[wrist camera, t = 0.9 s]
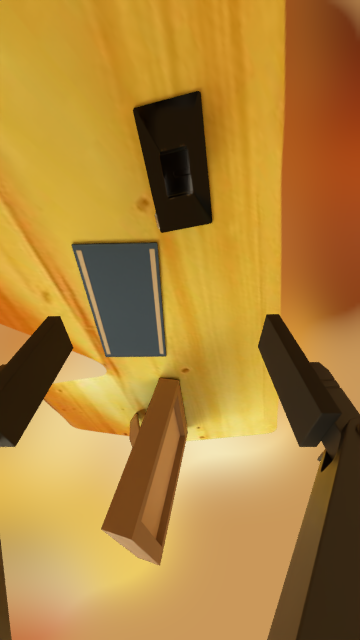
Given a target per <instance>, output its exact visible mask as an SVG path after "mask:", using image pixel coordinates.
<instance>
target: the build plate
mask: <svg viewBox="0 0 360 640" xmlns="http://www.w3.org/2000/svg"><path fill="white" fill-rule="evenodd" d="M133 113H134V117H135V122H136V126H137V130H138V135H139V139H140V144H141V148H142V152H143V157H144V161H145V166H146V170H147V174H148V179H149V183H150V188H151V192H152V196H153V201H154V205H155V210H156V213H155V218H156V222H157V226H158V228H159V229H160V231H161V232H162V233H163V232H168V231H173V230H179V229H184V228H189V227H194V226H199V225H204V224H209V223H212V212H211V201H210V190H209V179H208V168H207V157H206V146H205V135H204V124H203V114H202V103H201V93H200V92H199V91H196V92H192V93H189V94H185V95H181V96H177V97H174V98H170V99H166V100H162V101H159V102H155V103H151V104H147V105H144V106H140V107H136V108H134V109H133Z"/></svg>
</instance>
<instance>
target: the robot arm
mask: <svg viewBox="0 0 360 640" xmlns="http://www.w3.org/2000/svg"><path fill="white" fill-rule="evenodd" d="M258 348H259V350H260V353H261V355H262V358H263V360H264V362H265V365H266V367H267V370H268V372H269V375H270V377H271V379H272V382H273V384H274V387H275V389H276V391H277V394H278V396H279V399H280V401H281V403H282V406H283V408H284V411H285V413H286V416H287V418H288V420H289V423H290V425H291V428H292V430H293V432H294V435H295V437H296V440H297V442H298V444H299V446H300V447H317V445H318V444H319V443H320V441H322V443H323V445H324V446H325V450H324V452H323V453H322V454H321V455H320V456H319V458H318V460H319V461H321V462H320V465H319V469H318V472H317V475H316V478H315V482H314V485H313V488H312V492H311V495H310V499H309V502H308V505H307V508H306V512H305V515H304V519H303V522H302V525H301V529H300V532H299V535H298V539H297V542H296V545H295V549H294V552H293V555H292V559H291V562H290V566H289V569H288V572H287V575H286V579H285V582H284V585H283V589H282V592H281V596H280V599H279V602H278V606H277V609H276V612H275V615H274V619H273V622H272V625H271V629H270V632H269V636H268V639H267V640H360V414H359V413H358V411H357V410H356V408H355V407H354V406H353V404H352V403H351V401H350V400H349V398H348V397H347V396H346V394H345V393H344V391H343V390H342V389H341V388H340V386H339V384H338V383H337V382H336V380H334V377H333V376H332V374H331V373H330V372H329V370H328V369H326V368H325V367H324V366H323V365H322V364H320V363H319V362H309V361H308V359H307V358H306V356H305V354H304V353H303V351H302V350H301V348H300V347H299V345H298V344H297V342H296V340H295V339H294V337H293V336H292V334H291V333H290V331H289V329H288V328H287V326H286V325H285V323H284V322H283V320H282V319H281V317H280V315H279V314H268V315H266V319H265V322H264V326H263V330H262V334H261V337H260V341H259V345H258ZM72 349H73V346H72V344H71V341H70V339H69V336H68V334H67V332H66V329H65V327H64V324H63V322H62V320H61V317H60V316H48V317H47V318H46V320H45V321H44V322H43V323H42V324H41V325H40V326H39V328H38V329H37V330H36V331H35V332H34V333H33V334H32V336H31V337H30V338H29V339H28V340H27V341H26V343H25V344H24V345H23V346H22V347H21V348H20V349H19V351H18V352H17V353H16V354H15V355H14V356H13V357H12V359H11V360H10V361H9V362H8V363H7V364H6V365H1V366H0V447H15V446H16V445H17V443H18V441H19V440H20V438H21V436H22V434H23V433H24V431H25V429H26V428H27V426H28V424H29V422H30V421H31V419H32V417H33V416H34V414H35V412H36V411H37V409H38V407H39V405H40V404H41V402H42V400H43V399H44V397H45V395H46V394H47V392H48V390H49V388H50V387H51V385H52V383H53V382H54V380H55V378H56V377H57V375H58V373H59V371H60V370H61V368H62V366H63V365H64V363H65V361H66V359H67V358H68V356H69V354H70V352H71V351H72ZM8 614H9V613H8V604H7V595H6V586H5V578H4V568H3V559H2V550H1V541H0V640H11V632H10V623H9V615H8Z"/></svg>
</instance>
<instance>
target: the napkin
mask: <svg viewBox="0 0 360 640" xmlns="http://www.w3.org/2000/svg"><path fill="white" fill-rule="evenodd" d="M72 248H73V251H74V254H75V258H76V261H77V264H78V267H79V271H80V274H81V277H82V280H83V284H84V287H85V290H86V294H87V297H88V300H89V303H90V307H91V310H92V313H93V316H94V320H95V323H96V326H97V329H98V333H99V336H100V339H101V343H102V346H103V349H104V352H105V356H106V357H154V356H166V347H165V334H164V321H163V308H162V296H161V283H160V270H159V257H158V244H157V242H154V243H94V244H72Z"/></svg>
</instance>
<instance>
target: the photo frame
mask: <svg viewBox="0 0 360 640" xmlns="http://www.w3.org/2000/svg"><path fill="white" fill-rule="evenodd" d="M187 433H188V431H187V425H186V419H185V413H184V408H183V402H182V396H181V390H180V384H179V380H172V379H164V378H159V381H158V383H157V386H156V388H155V391H154V394H153V396H152V399H151V401H150V404H149V407H148V409H147V412H146V414H145V417H144V419H143V422H142V425H141V427H140V425H139V419H138V414H137V413H136V414H135V415H134V417H133V418H132V420H131V421H130V442H131V445H132V450H131V453H130V456H129V458H128V461H127V464H126V466H125V469H124V471H123V474H122V476H121V479H120V481H119V484H118V487H117V490H116V492H115V494H114V497H113V500H112V502H111V505H110V507H109V510H108V513H107V515H106V518H105V520H104V523H103V525H102V528H101V530H103V531H104V532H105V533H107V534H108V535H109V536H110V537H112V538H113V539H114V540H116V541H117V542H118V543H120V544H121V545H122V546H124V547H125V548H126V549H128V550H129V551H130V552H132V553H133V554H134V555H135V556H137V557H138V558H140V559H143V560H146V561H149V562H152V563H154V564H157V565H160V562H161V558H162V553H163V548H164V544H165V538H166V534H167V529H168V524H169V520H170V514H171V510H172V505H173V500H174V495H175V491H176V486H177V481H178V476H179V472H180V467H181V462H182V457H183V452H184V447H185V443H186V438H187Z"/></svg>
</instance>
